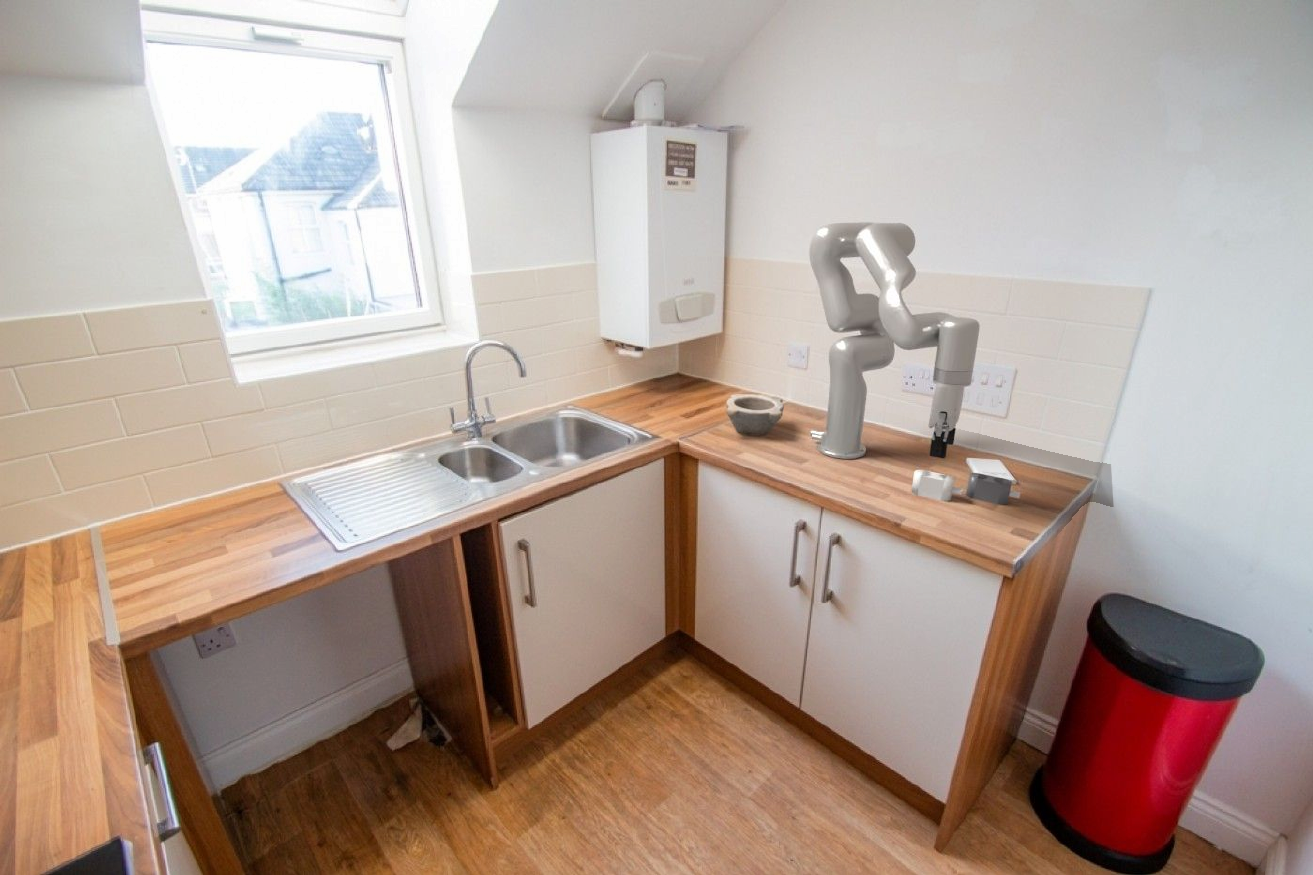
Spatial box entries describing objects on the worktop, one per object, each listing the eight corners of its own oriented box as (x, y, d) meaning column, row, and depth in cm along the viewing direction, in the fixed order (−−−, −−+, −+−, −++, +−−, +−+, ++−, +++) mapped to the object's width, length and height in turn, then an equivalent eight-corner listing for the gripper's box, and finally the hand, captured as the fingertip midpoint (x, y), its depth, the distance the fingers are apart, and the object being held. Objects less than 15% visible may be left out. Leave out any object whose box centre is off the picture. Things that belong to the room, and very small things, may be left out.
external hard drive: (999, 465, 156) (1015, 486, 145) (965, 463, 158) (979, 483, 146) (1000, 459, 156) (1017, 480, 144) (966, 457, 157) (980, 477, 146)
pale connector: (909, 493, 141) (912, 473, 139) (913, 487, 144) (916, 468, 142) (958, 504, 136) (962, 484, 134) (961, 498, 138) (965, 478, 136)
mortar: (780, 443, 171) (783, 413, 168) (721, 438, 175) (722, 408, 171) (783, 423, 186) (785, 395, 183) (728, 419, 190) (729, 391, 187)
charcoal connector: (964, 496, 139) (968, 477, 137) (967, 490, 142) (970, 471, 140) (1016, 508, 134) (1021, 488, 132) (1018, 502, 136) (1023, 482, 135)
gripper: (941, 366, 138) (931, 436, 144) (925, 383, 125) (915, 459, 131) (977, 369, 134) (966, 441, 140) (965, 387, 121) (952, 466, 127)
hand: (941, 450), depth 135 cm, fingers open, 9 cm apart
